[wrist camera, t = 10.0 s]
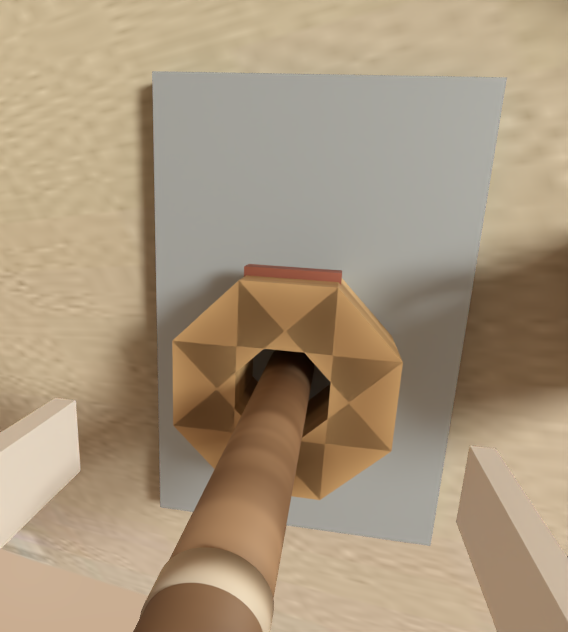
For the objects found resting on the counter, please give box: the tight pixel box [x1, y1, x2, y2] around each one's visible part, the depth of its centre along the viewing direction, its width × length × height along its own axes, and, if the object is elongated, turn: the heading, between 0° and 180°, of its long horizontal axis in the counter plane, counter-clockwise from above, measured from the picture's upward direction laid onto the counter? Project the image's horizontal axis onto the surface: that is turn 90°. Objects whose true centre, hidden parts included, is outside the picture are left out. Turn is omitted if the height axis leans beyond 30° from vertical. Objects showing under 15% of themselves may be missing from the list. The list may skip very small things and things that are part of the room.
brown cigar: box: [133, 350, 314, 632], centre depth 15 cm, size 2×2×16 cm
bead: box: [172, 264, 403, 500], centre depth 21 cm, size 11×10×4 cm
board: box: [152, 71, 507, 546], centre depth 23 cm, size 24×16×1 cm, turn 177°
